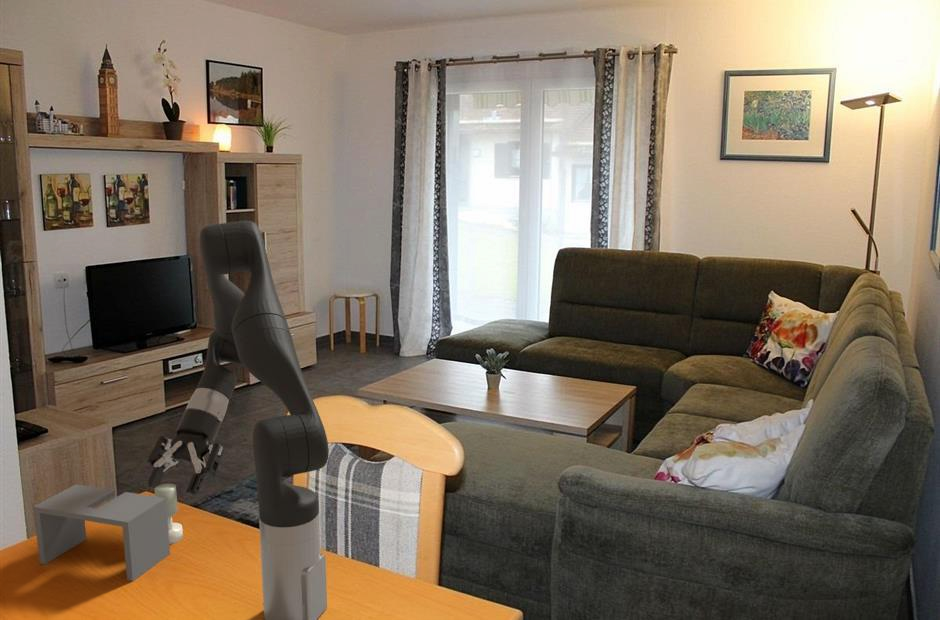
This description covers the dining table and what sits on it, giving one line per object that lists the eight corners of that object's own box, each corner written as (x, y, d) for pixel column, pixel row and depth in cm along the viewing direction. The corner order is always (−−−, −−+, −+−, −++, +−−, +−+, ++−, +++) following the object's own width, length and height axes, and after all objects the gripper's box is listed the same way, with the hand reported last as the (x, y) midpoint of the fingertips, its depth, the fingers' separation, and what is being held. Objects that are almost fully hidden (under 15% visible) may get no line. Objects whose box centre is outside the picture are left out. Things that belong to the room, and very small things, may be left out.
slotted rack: (170, 553, 147) (165, 498, 145) (132, 581, 138) (127, 522, 135) (81, 538, 153) (76, 484, 150) (39, 563, 143) (33, 506, 141)
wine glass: (188, 534, 154) (184, 484, 152) (172, 546, 150) (168, 495, 148) (166, 530, 156) (162, 480, 154) (149, 542, 151) (145, 491, 149)
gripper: (164, 403, 160) (129, 479, 151) (226, 410, 156) (193, 488, 147) (182, 420, 166) (150, 493, 157) (242, 427, 162) (212, 503, 153)
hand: (171, 491), depth 152 cm, fingers open, 8 cm apart
